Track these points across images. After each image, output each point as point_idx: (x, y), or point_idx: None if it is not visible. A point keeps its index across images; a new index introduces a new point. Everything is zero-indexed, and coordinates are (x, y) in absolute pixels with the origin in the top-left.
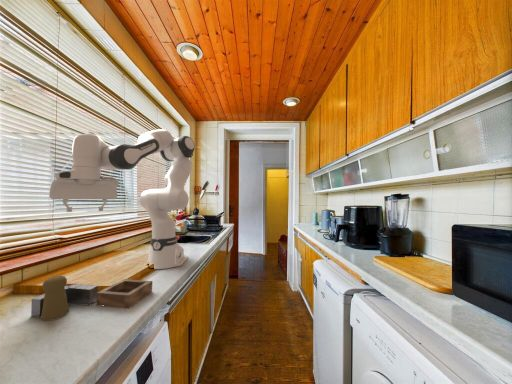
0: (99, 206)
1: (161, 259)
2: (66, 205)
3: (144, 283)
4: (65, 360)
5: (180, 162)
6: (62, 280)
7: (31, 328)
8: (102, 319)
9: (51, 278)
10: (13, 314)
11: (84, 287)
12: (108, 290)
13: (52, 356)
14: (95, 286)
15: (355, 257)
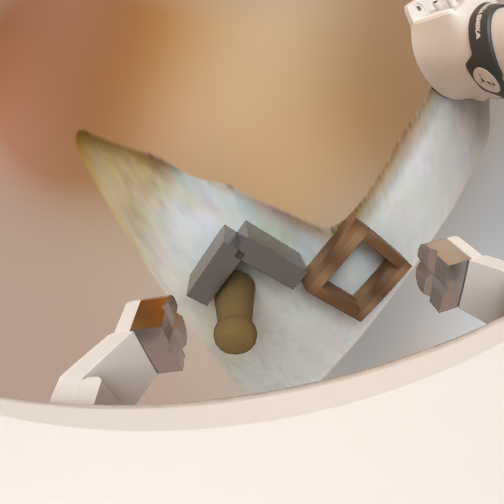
0: (454, 267)
1: (463, 91)
2: (134, 391)
3: (396, 274)
4: (284, 383)
5: None
6: (252, 346)
7: (215, 317)
8: (314, 326)
9: (230, 348)
10: (151, 253)
11: (278, 271)
12: (327, 278)
13: (270, 376)
14: (302, 275)
15: None
